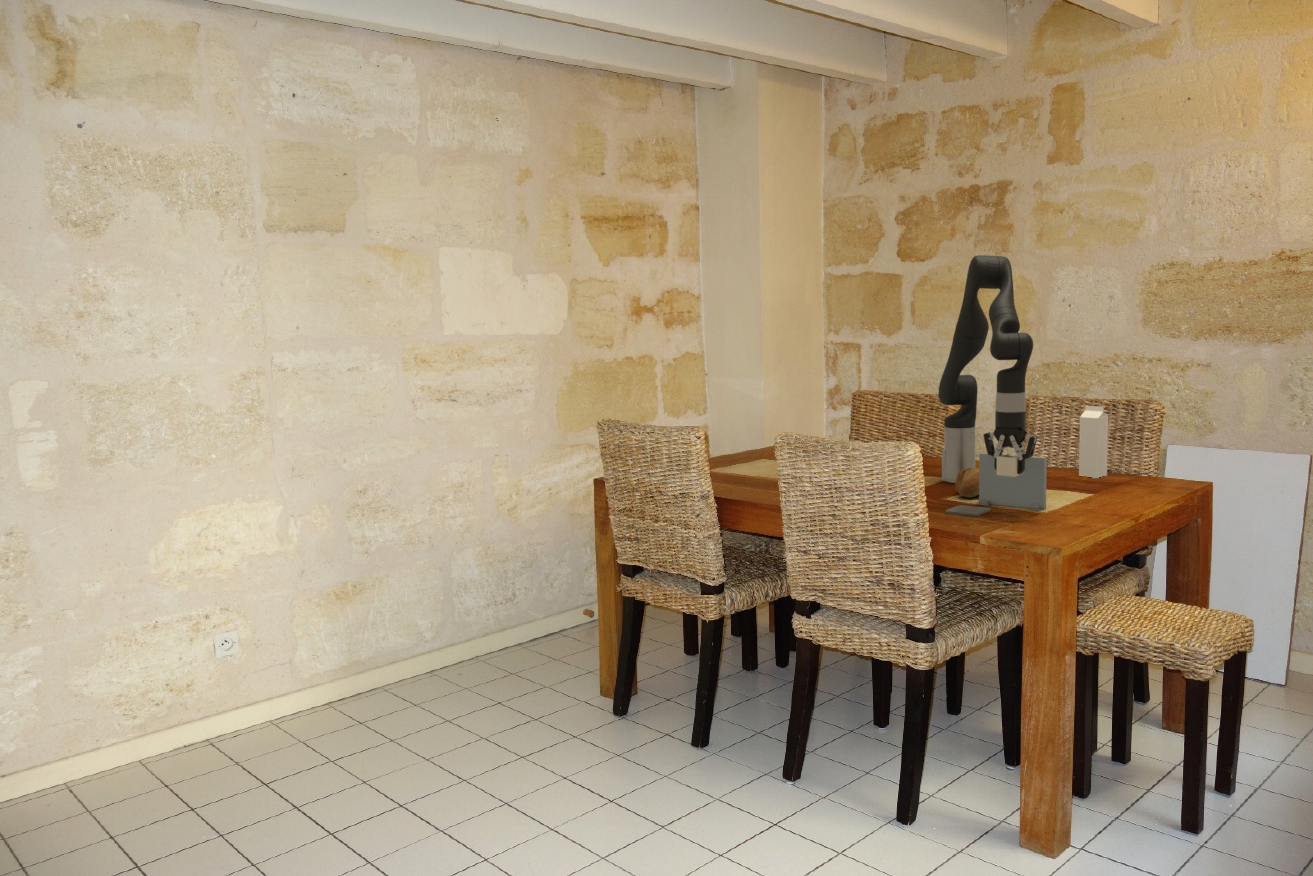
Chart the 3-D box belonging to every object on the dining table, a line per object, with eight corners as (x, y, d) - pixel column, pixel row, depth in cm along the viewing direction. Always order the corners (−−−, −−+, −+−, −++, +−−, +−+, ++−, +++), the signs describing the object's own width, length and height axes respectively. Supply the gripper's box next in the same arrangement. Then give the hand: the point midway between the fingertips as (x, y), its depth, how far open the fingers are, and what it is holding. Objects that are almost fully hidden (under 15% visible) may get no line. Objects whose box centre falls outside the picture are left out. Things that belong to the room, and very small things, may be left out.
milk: (1096, 479, 306) (1098, 407, 302) (1078, 476, 310) (1079, 406, 307) (1107, 476, 309) (1108, 405, 306) (1088, 473, 314) (1090, 404, 311)
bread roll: (948, 498, 286) (948, 471, 285) (965, 489, 298) (965, 463, 297) (982, 501, 281) (982, 473, 280) (997, 491, 293) (997, 465, 292)
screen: (975, 504, 277) (975, 454, 275) (984, 500, 281) (984, 451, 279) (1040, 511, 265) (1041, 459, 263) (1048, 507, 270) (1049, 456, 268)
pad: (944, 513, 268) (944, 510, 268) (959, 507, 274) (958, 504, 274) (977, 516, 262) (977, 514, 262) (990, 510, 269) (990, 508, 268)
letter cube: (996, 475, 263) (996, 456, 262) (1003, 471, 267) (1004, 453, 266) (1015, 476, 260) (1015, 457, 259) (1022, 473, 264) (1022, 454, 263)
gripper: (978, 409, 263) (977, 472, 265) (1032, 412, 253) (1031, 477, 256) (989, 406, 268) (988, 467, 271) (1043, 408, 259) (1041, 472, 261)
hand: (1009, 472), depth 263 cm, fingers closed on letter cube, 5 cm apart
